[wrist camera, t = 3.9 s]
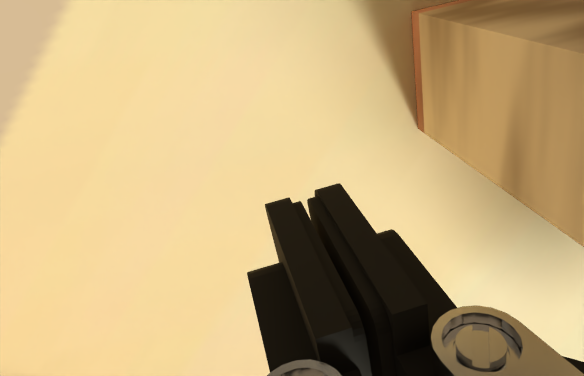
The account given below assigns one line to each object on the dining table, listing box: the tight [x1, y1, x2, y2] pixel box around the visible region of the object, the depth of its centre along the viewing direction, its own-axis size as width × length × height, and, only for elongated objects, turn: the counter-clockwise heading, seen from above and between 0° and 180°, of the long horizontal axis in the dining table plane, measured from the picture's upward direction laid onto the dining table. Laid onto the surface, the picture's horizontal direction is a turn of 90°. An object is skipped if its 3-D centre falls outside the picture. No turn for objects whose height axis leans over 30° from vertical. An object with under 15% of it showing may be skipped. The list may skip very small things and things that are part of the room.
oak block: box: [412, 0, 584, 247], centre depth 14 cm, size 5×5×12 cm
